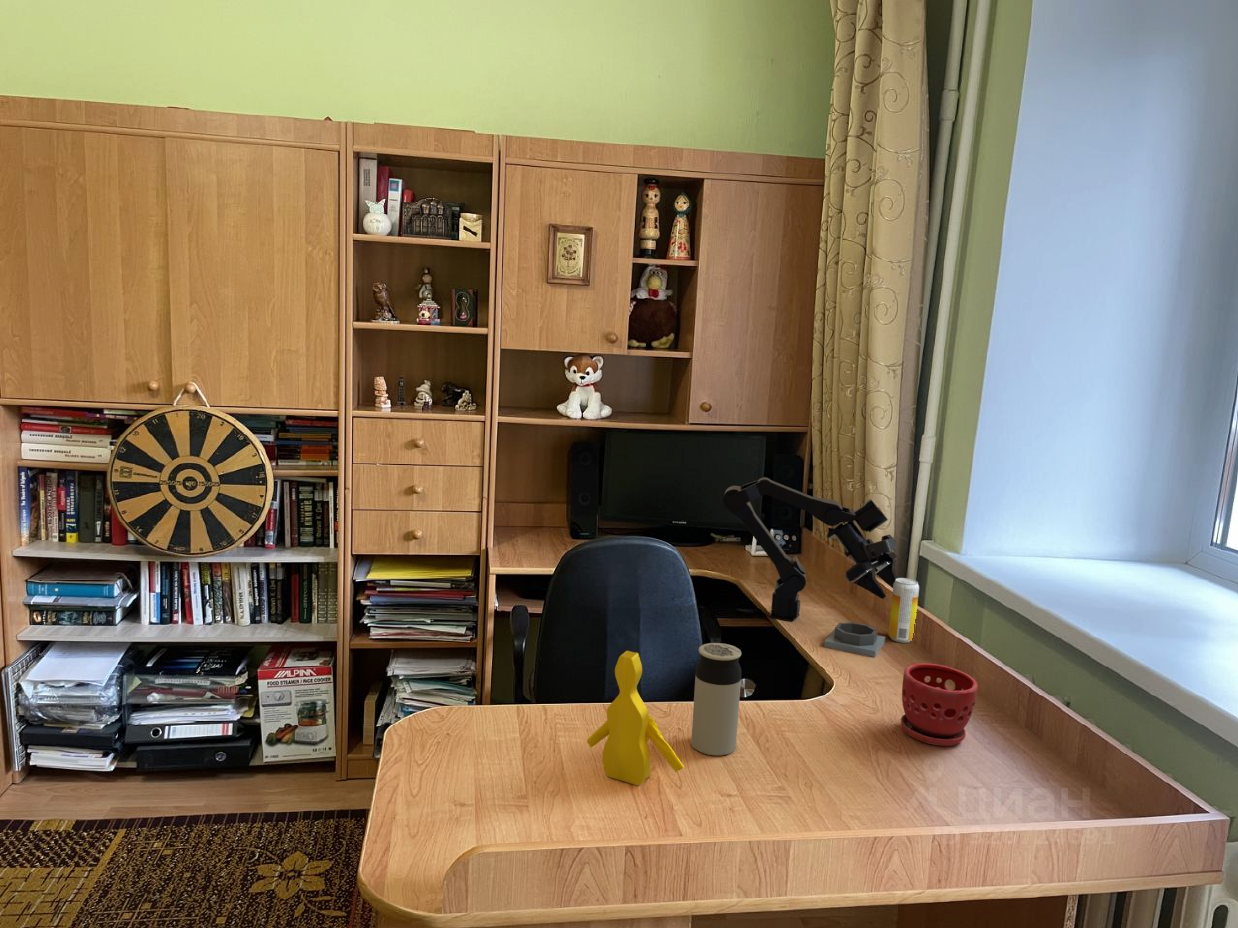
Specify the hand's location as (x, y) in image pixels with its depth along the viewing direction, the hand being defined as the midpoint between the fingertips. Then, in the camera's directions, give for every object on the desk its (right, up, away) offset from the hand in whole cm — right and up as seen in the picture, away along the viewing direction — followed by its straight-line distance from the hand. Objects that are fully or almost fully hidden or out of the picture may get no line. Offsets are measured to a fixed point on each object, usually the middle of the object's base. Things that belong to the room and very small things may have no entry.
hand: (892, 594), depth 220 cm
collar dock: (-11, -11, -6) cm, 17 cm away
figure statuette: (-67, -19, -75) cm, 102 cm away
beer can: (+2, -11, -1) cm, 11 cm away
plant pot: (-9, -19, -54) cm, 58 cm away
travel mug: (-52, -18, -63) cm, 83 cm away
